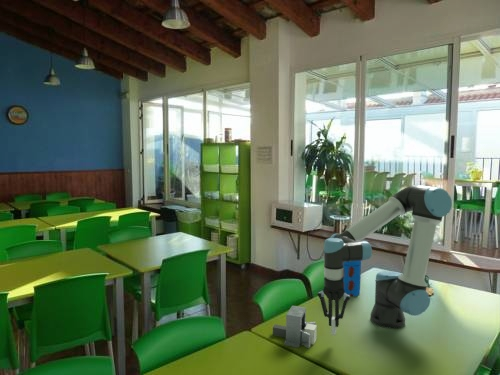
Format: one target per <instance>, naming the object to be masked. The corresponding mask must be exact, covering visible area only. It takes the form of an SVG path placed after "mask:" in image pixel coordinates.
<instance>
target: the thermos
mask: <svg viewBox="0 0 500 375" xmlns="http://www.w3.org/2000/svg"><path fill="white" fill-rule="evenodd" d="M361 271H362V261H349V262H344V263H343V289H344V291H345V293H346V294H347V295H348V294H349V295H350V296H355V297H359V296H360V295H361V294H360V293H361V277H362V272H361ZM359 294H360V295H359ZM358 295H359V296H358Z"/></svg>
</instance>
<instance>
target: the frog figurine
mask: <svg viewBox="0 0 500 375" xmlns="http://www.w3.org/2000/svg"><path fill="white" fill-rule="evenodd" d="M424 281H425V282H426V284H427V288H426V292H427V293H428V294H429V296H432V294H433V293H434V292H435V291H434V288H433V287H432V286H431V285H432V283H429V282H430V278H429V275H428V274H425V279H424Z"/></svg>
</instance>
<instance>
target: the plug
mask: <svg viewBox="0 0 500 375" xmlns="http://www.w3.org/2000/svg"><path fill="white" fill-rule="evenodd" d="M317 329H318V326H317V324H316V325H313V324H308V323H307V325H306V327H305V330H303V329H301V330H303V331H305V332H307V333H309V334H311V338H310V345H315V343H316V341H317V337H318V335H317V331H318V330H317ZM272 336H274V337H275V336H276V337H281V338H285V339H286V325H281V324H276V323H275V324H274V325H273V326H272Z"/></svg>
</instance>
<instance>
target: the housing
mask: <svg viewBox="0 0 500 375" xmlns="http://www.w3.org/2000/svg"><path fill="white" fill-rule="evenodd" d="M306 316H307V307H305V306H303V307H302V306H299V305H298V306H297V305H291V307H290V308H289V309H288V311H287V313H286V315H285V318H286V320H285V321H286V322H285V326H286V338H285V341H284V343H283V344H284V346H287V347H288V346H289V347H293V348H298V349H299V348H300V346H301V345H302V346H303V347H305V348H308V349H310V348H311V344H310V338H311V334H309V333H307V332H305V331H303V330H305V327H306V325H307V323H308V324H313V325H317V324H316V321H307V320H306V319H307V318H306ZM301 329H303V330H301Z"/></svg>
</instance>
